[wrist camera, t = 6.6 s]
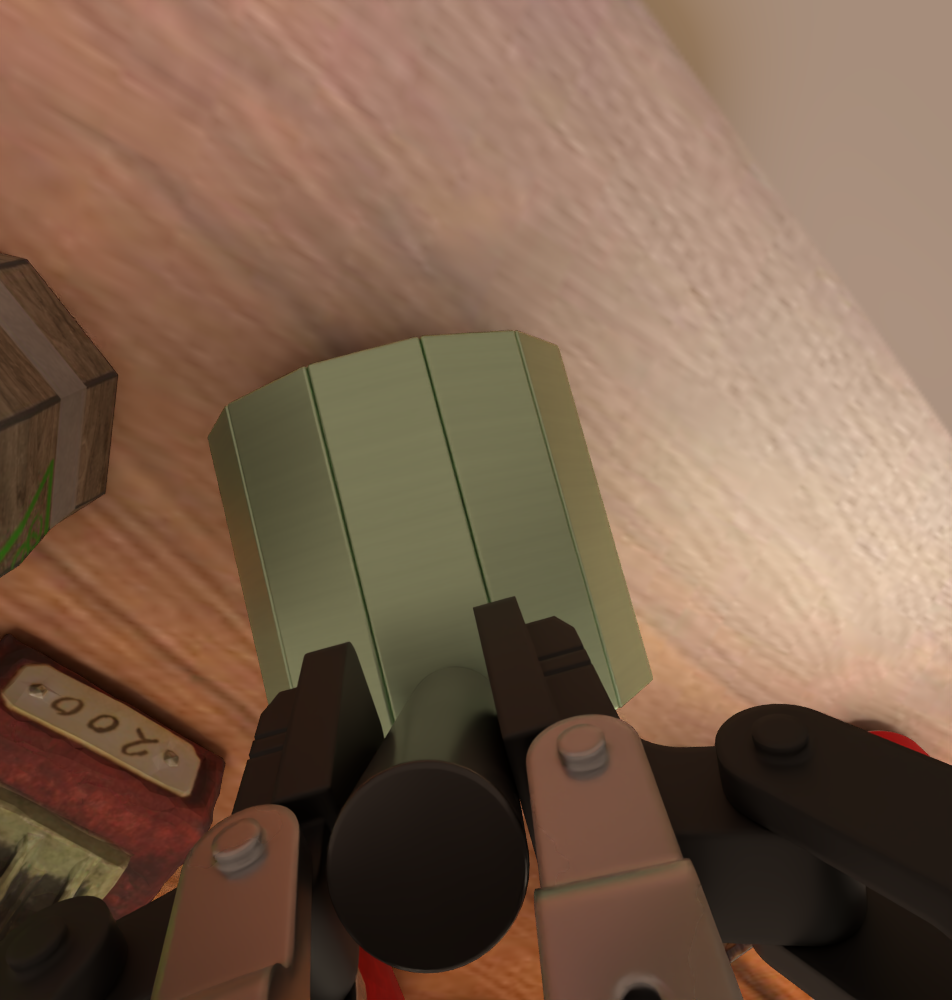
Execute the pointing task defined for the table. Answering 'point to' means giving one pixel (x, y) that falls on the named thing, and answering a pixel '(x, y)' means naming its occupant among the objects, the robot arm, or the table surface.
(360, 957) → the apple
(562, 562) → the pot
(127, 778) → the sculpture
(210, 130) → the table surface
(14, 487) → the mug
